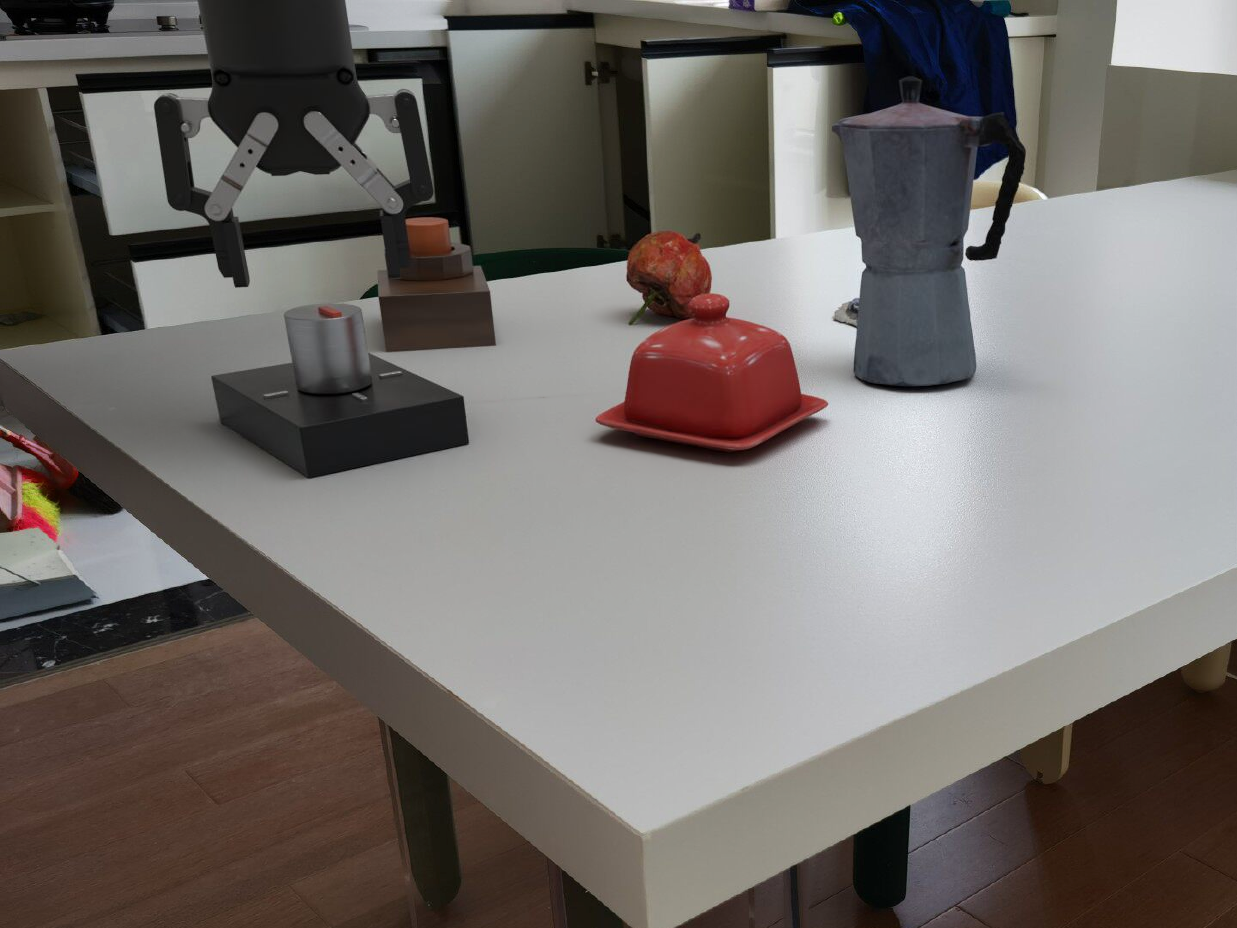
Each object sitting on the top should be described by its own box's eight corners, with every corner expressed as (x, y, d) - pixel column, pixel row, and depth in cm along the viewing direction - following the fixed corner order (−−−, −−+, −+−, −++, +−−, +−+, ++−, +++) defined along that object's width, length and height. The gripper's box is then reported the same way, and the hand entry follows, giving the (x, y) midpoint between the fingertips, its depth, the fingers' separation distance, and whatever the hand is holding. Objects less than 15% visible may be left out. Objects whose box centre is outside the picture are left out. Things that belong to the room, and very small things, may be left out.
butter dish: (744, 469, 82) (740, 324, 78) (586, 439, 86) (574, 301, 83) (837, 419, 91) (837, 287, 87) (689, 395, 96) (683, 268, 92)
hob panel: (219, 422, 89) (210, 373, 87) (371, 394, 95) (364, 348, 93) (308, 478, 79) (299, 424, 78) (469, 443, 85) (463, 393, 84)
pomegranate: (675, 359, 113) (754, 271, 115) (616, 291, 108) (699, 201, 110) (635, 350, 118) (710, 266, 120) (577, 285, 114) (656, 200, 116)
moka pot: (863, 347, 108) (866, 68, 99) (1044, 377, 101) (1065, 79, 92) (795, 374, 101) (791, 75, 92) (985, 408, 94) (1001, 88, 85)
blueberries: (914, 308, 121) (914, 286, 120) (913, 330, 114) (914, 306, 113) (836, 306, 121) (836, 284, 120) (830, 328, 114) (830, 304, 113)
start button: (453, 257, 109) (449, 223, 108) (404, 259, 108) (400, 225, 107) (450, 249, 112) (446, 216, 111) (403, 251, 111) (399, 218, 110)
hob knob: (285, 383, 86) (271, 304, 84) (354, 371, 88) (342, 294, 86) (313, 398, 83) (300, 317, 81) (384, 386, 86) (373, 307, 83)
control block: (496, 346, 107) (487, 266, 104) (386, 353, 104) (374, 271, 102) (485, 313, 116) (477, 240, 114) (384, 319, 114) (373, 244, 111)
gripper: (404, -23, 81) (441, 263, 88) (133, -25, 77) (195, 275, 84) (407, -21, 74) (447, 287, 82) (112, -23, 70) (181, 301, 78)
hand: (319, 280), depth 83 cm, fingers open, 8 cm apart
